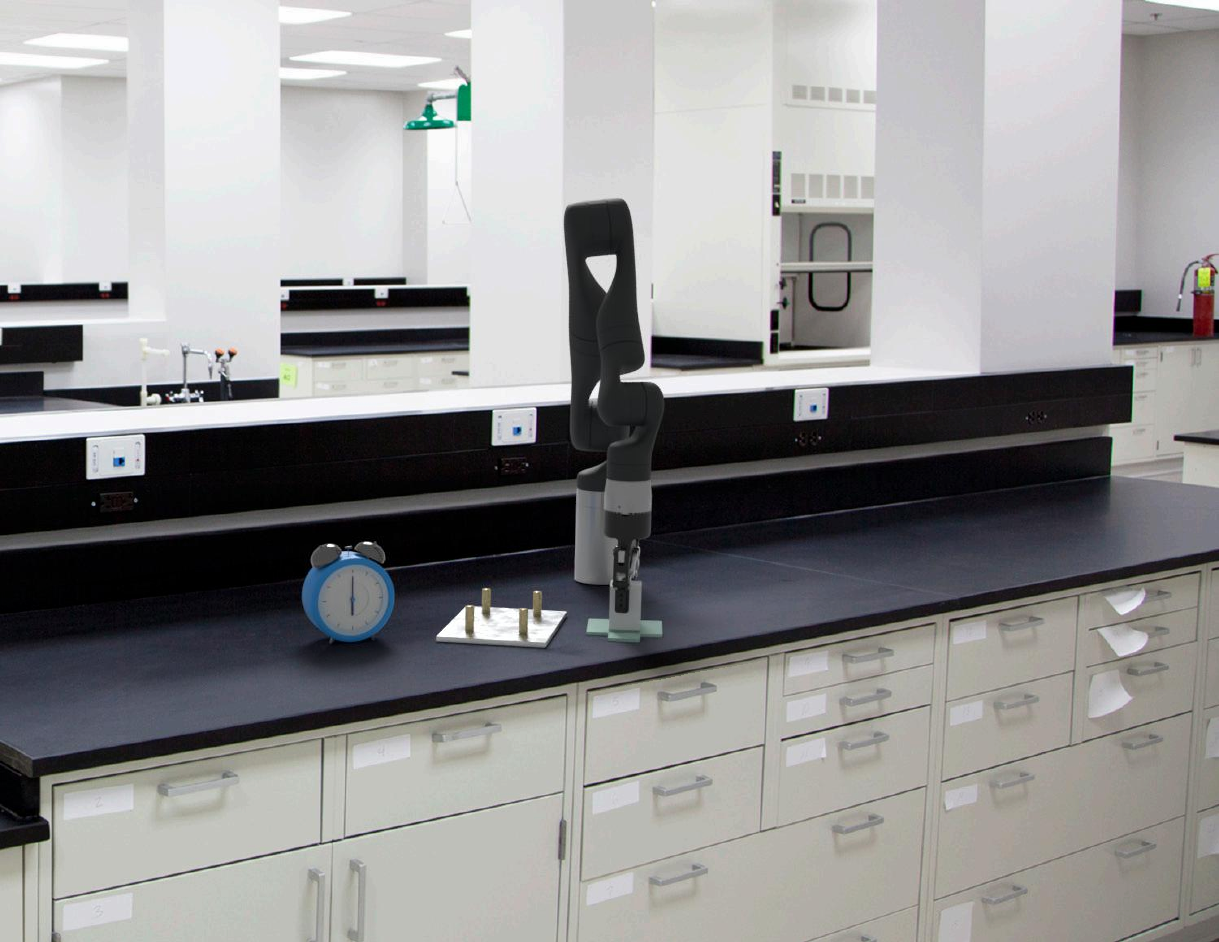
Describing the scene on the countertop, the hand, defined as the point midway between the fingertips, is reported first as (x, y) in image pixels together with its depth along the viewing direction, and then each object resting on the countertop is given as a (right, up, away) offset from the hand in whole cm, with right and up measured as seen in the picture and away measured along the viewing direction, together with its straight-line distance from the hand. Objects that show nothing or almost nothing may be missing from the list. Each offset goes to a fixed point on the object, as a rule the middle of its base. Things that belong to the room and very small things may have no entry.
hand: (624, 606), depth 241 cm
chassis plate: (-19, -3, -1) cm, 20 cm away
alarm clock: (-43, -4, -10) cm, 44 cm away
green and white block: (0, -4, +1) cm, 4 cm away
